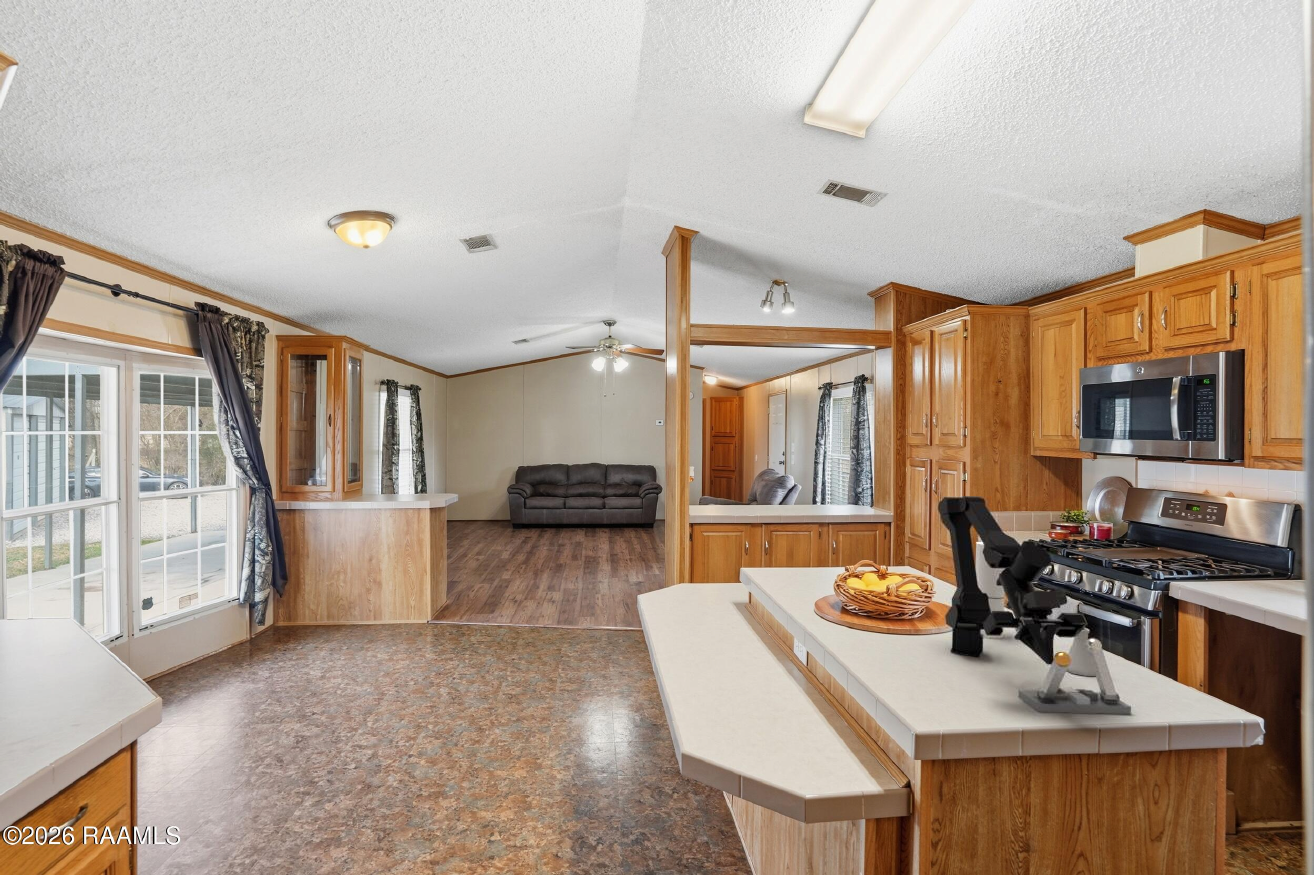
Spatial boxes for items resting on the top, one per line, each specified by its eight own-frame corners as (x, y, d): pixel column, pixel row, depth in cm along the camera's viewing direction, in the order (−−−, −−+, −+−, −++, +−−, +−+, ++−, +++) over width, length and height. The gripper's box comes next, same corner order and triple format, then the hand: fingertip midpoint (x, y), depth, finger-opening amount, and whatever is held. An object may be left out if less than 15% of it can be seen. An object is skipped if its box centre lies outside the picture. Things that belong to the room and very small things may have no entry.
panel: (1018, 697, 132) (1018, 683, 132) (1106, 699, 132) (1106, 685, 132) (1038, 711, 125) (1038, 697, 125) (1130, 714, 125) (1131, 699, 125)
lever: (1099, 702, 128) (1080, 639, 134) (1113, 702, 128) (1094, 640, 134) (1108, 700, 125) (1088, 636, 132) (1122, 700, 125) (1102, 637, 132)
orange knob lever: (1034, 692, 129) (1053, 648, 123) (1048, 692, 129) (1068, 648, 123) (1041, 703, 126) (1061, 659, 121) (1056, 704, 126) (1076, 660, 121)
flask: (1105, 678, 144) (1106, 634, 144) (1069, 675, 146) (1070, 631, 146) (1090, 667, 151) (1091, 625, 151) (1056, 664, 153) (1057, 622, 153)
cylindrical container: (1004, 633, 177) (1006, 543, 177) (1002, 640, 171) (1004, 546, 171) (975, 629, 181) (977, 540, 181) (972, 635, 175) (974, 543, 175)
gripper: (991, 571, 131) (1020, 643, 120) (1083, 574, 131) (1119, 645, 120) (972, 600, 139) (997, 669, 128) (1058, 602, 139) (1090, 671, 128)
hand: (1050, 663), depth 126 cm, fingers closed
